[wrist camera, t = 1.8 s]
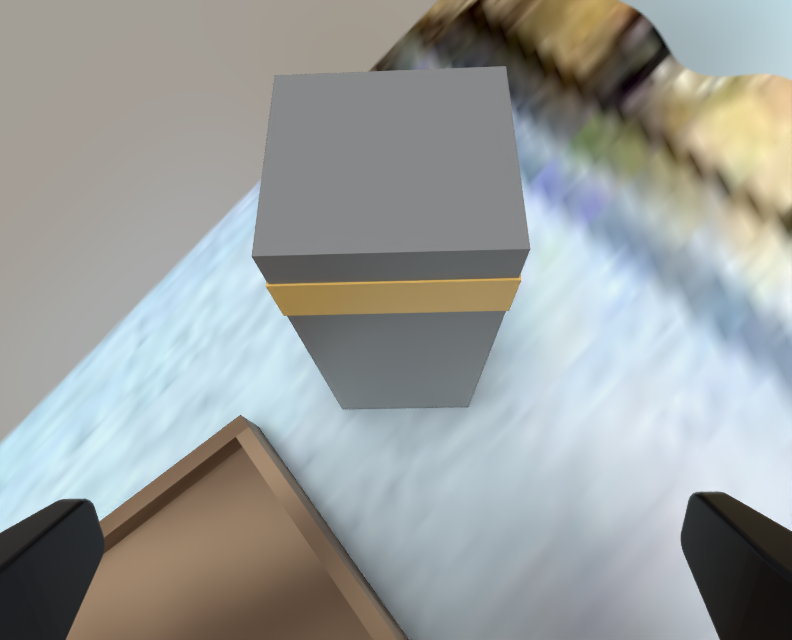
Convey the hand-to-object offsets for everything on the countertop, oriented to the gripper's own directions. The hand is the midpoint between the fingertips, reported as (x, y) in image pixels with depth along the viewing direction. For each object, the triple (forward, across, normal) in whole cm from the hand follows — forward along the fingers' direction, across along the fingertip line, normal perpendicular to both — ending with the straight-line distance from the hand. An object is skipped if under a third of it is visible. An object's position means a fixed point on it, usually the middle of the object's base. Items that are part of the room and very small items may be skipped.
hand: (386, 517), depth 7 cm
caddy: (+15, 0, +4) cm, 15 cm away
